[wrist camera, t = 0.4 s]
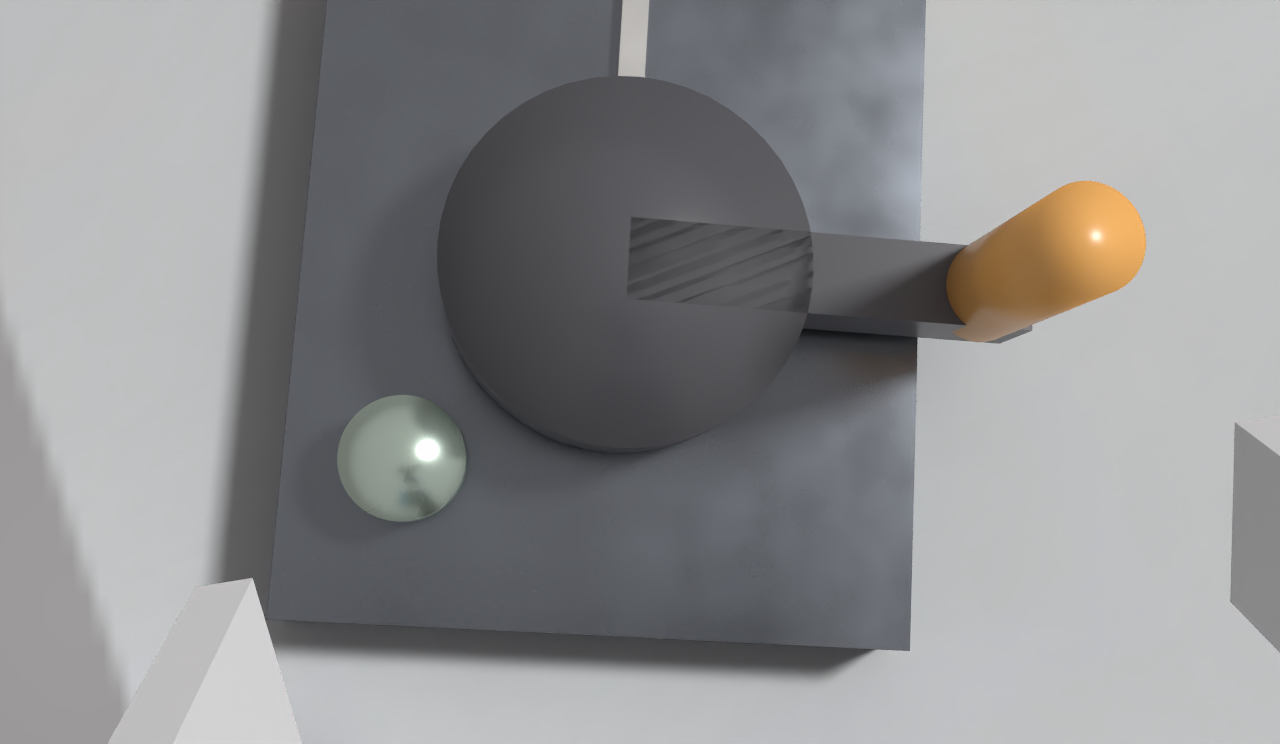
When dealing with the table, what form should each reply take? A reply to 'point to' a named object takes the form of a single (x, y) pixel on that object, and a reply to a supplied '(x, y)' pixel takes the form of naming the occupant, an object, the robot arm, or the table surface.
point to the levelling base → (538, 465)
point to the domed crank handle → (708, 265)
